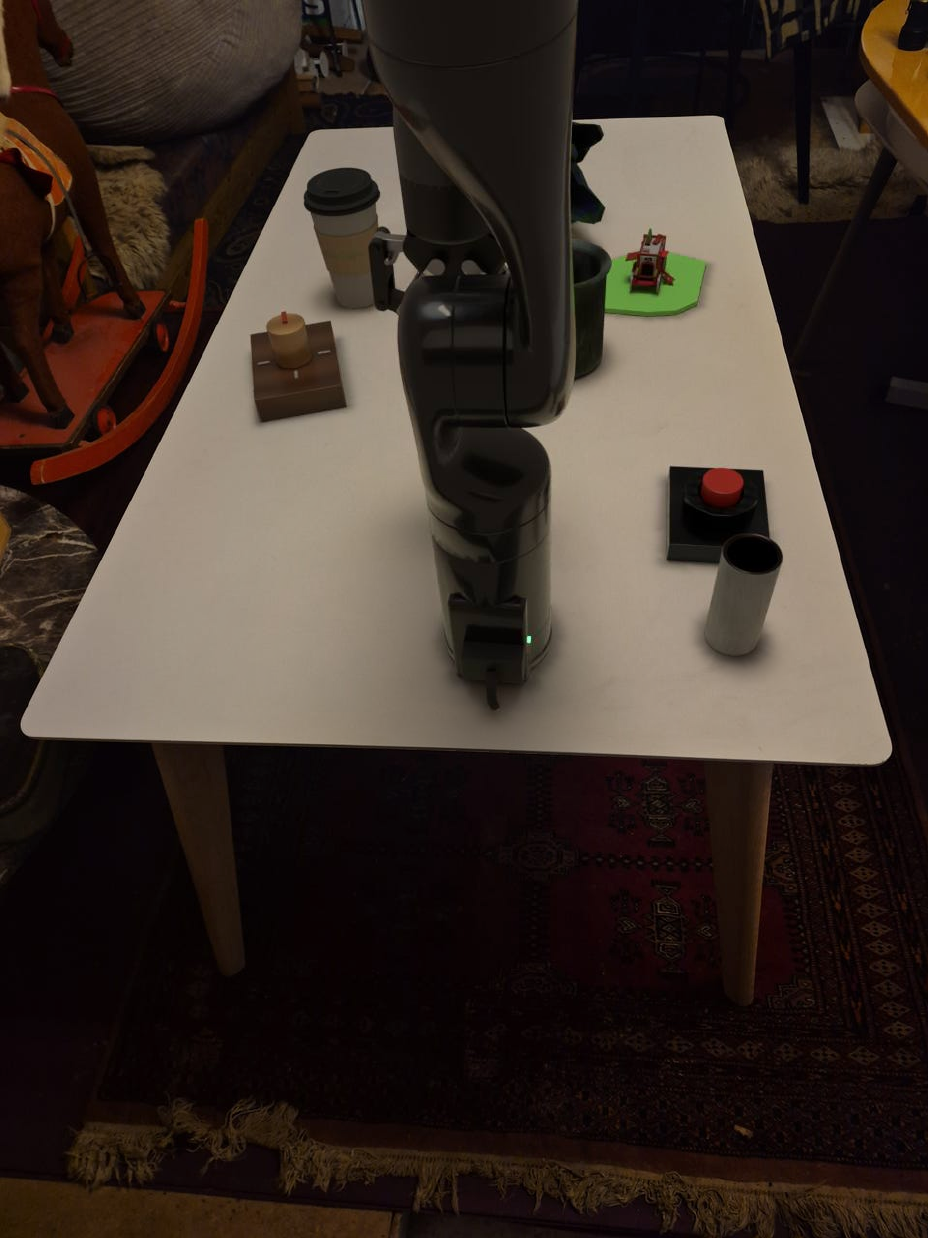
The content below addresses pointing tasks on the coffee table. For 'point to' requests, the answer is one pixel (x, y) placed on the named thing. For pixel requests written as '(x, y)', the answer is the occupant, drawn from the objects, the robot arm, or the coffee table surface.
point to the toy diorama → (653, 281)
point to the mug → (589, 302)
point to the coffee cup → (345, 229)
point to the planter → (742, 593)
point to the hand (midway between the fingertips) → (466, 352)
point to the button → (721, 487)
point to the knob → (289, 340)
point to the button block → (710, 515)
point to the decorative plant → (581, 196)
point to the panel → (297, 377)
